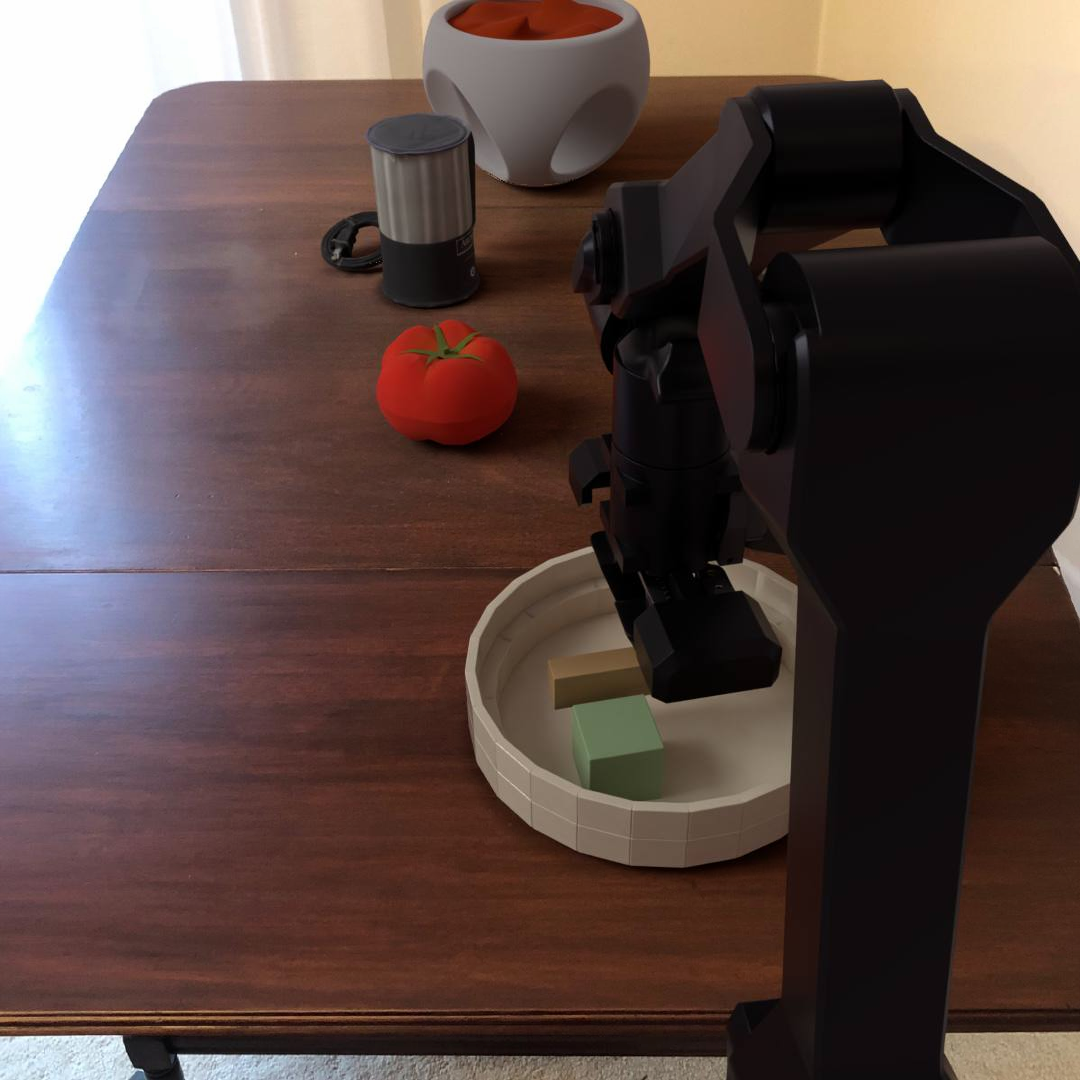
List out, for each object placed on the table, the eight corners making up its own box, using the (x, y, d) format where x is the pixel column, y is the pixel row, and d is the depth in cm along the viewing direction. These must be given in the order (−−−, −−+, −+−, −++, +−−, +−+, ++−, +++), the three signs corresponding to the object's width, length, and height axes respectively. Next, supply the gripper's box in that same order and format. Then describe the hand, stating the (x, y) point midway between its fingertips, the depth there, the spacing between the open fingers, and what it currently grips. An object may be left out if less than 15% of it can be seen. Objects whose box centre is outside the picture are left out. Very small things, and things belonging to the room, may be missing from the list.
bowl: (903, 835, 64) (920, 771, 61) (506, 908, 61) (503, 844, 58) (765, 580, 80) (773, 520, 77) (446, 627, 77) (441, 566, 74)
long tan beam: (761, 677, 69) (766, 646, 67) (554, 710, 67) (553, 679, 66) (752, 658, 70) (756, 627, 69) (548, 690, 68) (547, 659, 67)
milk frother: (475, 311, 111) (466, 150, 101) (302, 309, 111) (278, 149, 102) (487, 243, 122) (480, 93, 113) (330, 243, 122) (311, 93, 113)
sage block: (661, 798, 65) (664, 747, 63) (588, 811, 65) (589, 760, 62) (641, 743, 69) (644, 693, 66) (572, 755, 68) (572, 704, 66)
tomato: (491, 473, 90) (487, 386, 86) (357, 449, 93) (346, 363, 89) (537, 400, 98) (536, 317, 94) (412, 380, 101) (405, 298, 97)
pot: (653, 137, 144) (660, -25, 133) (636, 221, 125) (642, 41, 114) (454, 130, 147) (444, -29, 136) (408, 210, 128) (393, 34, 117)
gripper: (913, 530, 52) (860, 773, 62) (765, 326, 67) (740, 549, 76) (663, 566, 51) (648, 810, 60) (566, 349, 65) (566, 574, 75)
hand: (657, 670), depth 68 cm, fingers closed on long tan beam, 1 cm apart
